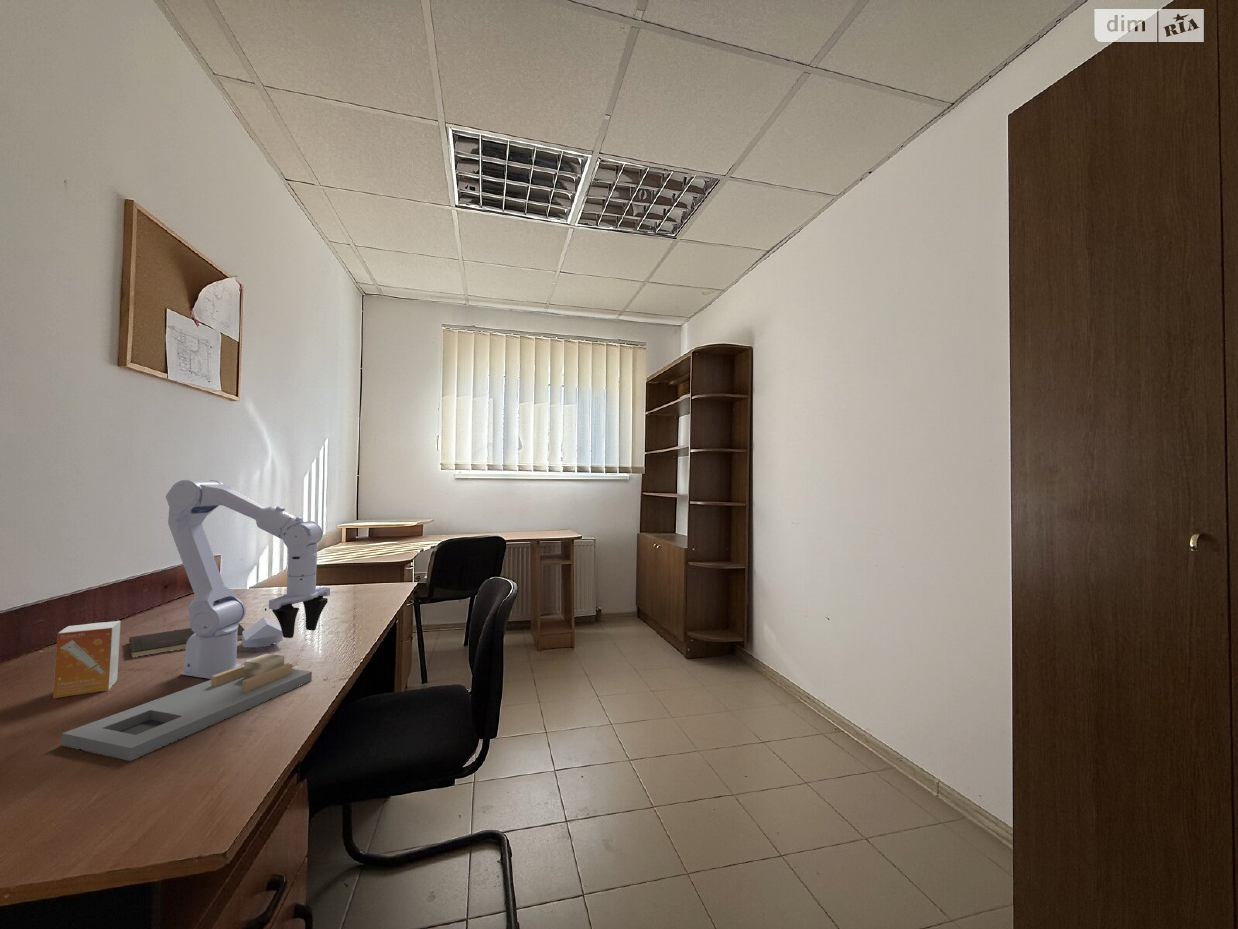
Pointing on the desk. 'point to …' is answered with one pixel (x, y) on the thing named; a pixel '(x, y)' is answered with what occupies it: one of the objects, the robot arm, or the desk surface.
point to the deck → (182, 712)
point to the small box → (86, 658)
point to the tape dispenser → (262, 634)
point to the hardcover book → (164, 641)
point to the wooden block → (262, 664)
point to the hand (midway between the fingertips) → (299, 633)
